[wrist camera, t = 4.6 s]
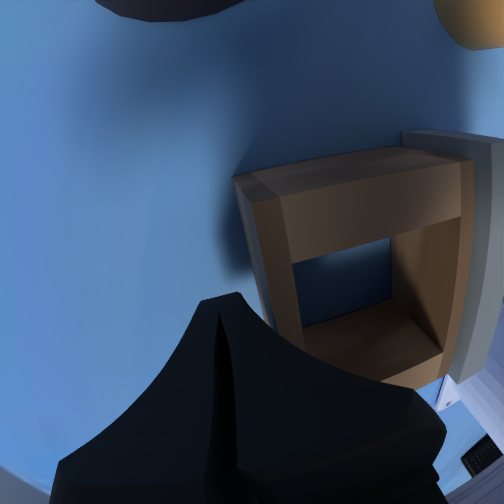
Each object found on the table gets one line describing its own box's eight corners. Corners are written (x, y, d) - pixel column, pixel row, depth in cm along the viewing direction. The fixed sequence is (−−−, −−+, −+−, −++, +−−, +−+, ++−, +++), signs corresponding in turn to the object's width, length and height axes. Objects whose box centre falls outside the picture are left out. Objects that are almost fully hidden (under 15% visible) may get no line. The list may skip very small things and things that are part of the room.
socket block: (396, 145, 10) (473, 159, 7) (400, 321, 13) (447, 373, 10) (231, 176, 10) (250, 204, 6) (274, 363, 13) (299, 435, 9)
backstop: (429, 129, 10) (517, 141, 6) (427, 316, 14) (482, 369, 10) (401, 131, 10) (491, 143, 6) (404, 326, 14) (457, 385, 10)
